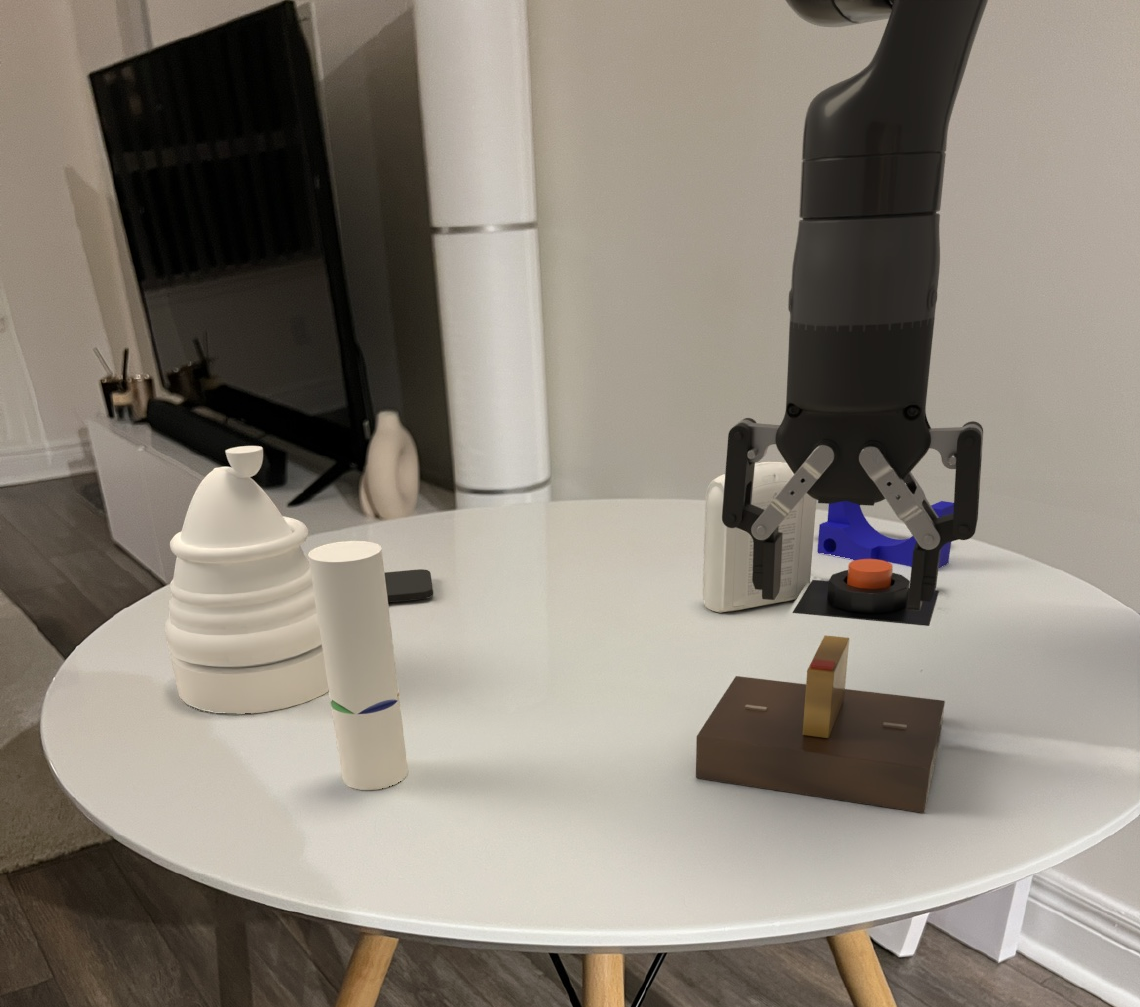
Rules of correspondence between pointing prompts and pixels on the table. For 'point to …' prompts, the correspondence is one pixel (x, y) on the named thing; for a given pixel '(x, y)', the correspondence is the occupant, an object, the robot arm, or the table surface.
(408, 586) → the phone
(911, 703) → the plate
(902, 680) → the table surface
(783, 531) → the photo printer
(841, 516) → the blue u-shaped cradle
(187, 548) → the honey pot
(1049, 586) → the table surface
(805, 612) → the button block
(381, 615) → the tube
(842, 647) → the lock knob
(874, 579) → the button
